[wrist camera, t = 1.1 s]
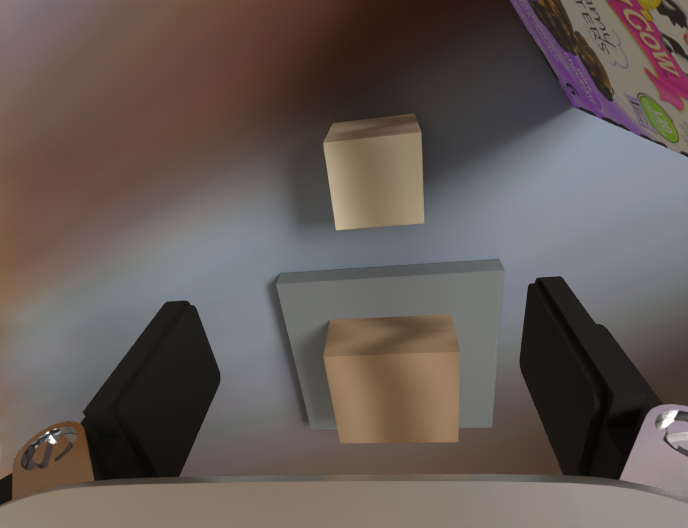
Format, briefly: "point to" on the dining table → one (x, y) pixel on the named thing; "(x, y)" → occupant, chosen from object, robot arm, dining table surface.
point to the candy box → (619, 60)
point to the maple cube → (375, 172)
